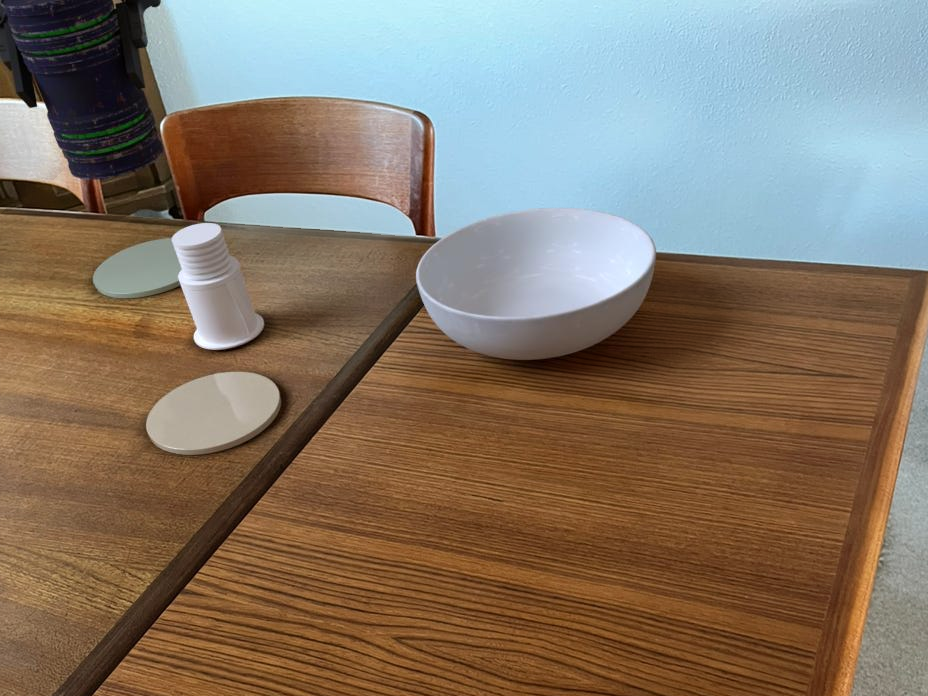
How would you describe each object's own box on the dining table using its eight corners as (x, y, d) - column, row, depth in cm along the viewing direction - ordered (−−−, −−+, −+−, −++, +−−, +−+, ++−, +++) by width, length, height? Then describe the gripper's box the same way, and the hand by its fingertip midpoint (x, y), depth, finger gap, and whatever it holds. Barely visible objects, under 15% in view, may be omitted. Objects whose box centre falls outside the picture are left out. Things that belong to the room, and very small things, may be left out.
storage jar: (183, 150, 99) (127, -22, 88) (102, 187, 94) (32, 11, 83) (130, 134, 104) (71, -30, 93) (51, 169, 99) (-21, 1, 89)
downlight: (178, 340, 96) (140, 241, 89) (231, 308, 99) (199, 210, 92) (228, 360, 92) (193, 259, 85) (282, 326, 95) (252, 226, 88)
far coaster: (76, 301, 105) (73, 296, 104) (120, 246, 114) (118, 241, 113) (187, 295, 103) (185, 289, 102) (224, 239, 111) (222, 234, 111)
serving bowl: (699, 343, 84) (703, 267, 79) (479, 420, 80) (468, 345, 75) (589, 253, 98) (586, 184, 93) (397, 315, 94) (383, 246, 89)
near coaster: (128, 457, 83) (125, 451, 82) (175, 379, 91) (172, 373, 90) (260, 453, 81) (258, 447, 80) (296, 374, 89) (294, 368, 88)
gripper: (169, -137, 95) (209, 91, 95) (-56, -97, 95) (-15, 130, 95) (142, -201, 87) (186, 46, 88) (-102, -158, 87) (-57, 89, 88)
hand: (81, 90), depth 91 cm, fingers closed on storage jar, 10 cm apart
